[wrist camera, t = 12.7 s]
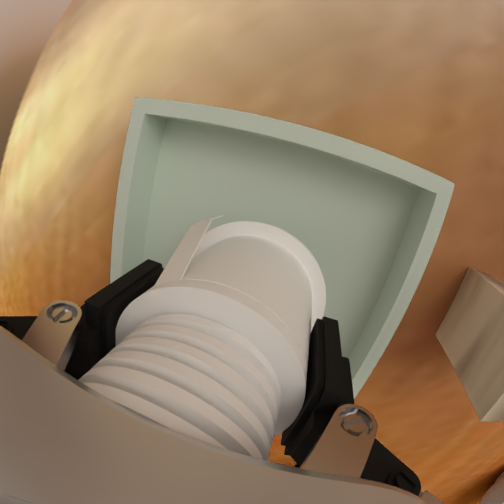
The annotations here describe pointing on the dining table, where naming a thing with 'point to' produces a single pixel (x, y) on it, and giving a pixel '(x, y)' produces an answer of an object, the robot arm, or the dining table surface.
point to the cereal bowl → (495, 492)
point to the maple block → (477, 342)
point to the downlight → (220, 338)
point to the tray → (284, 207)
